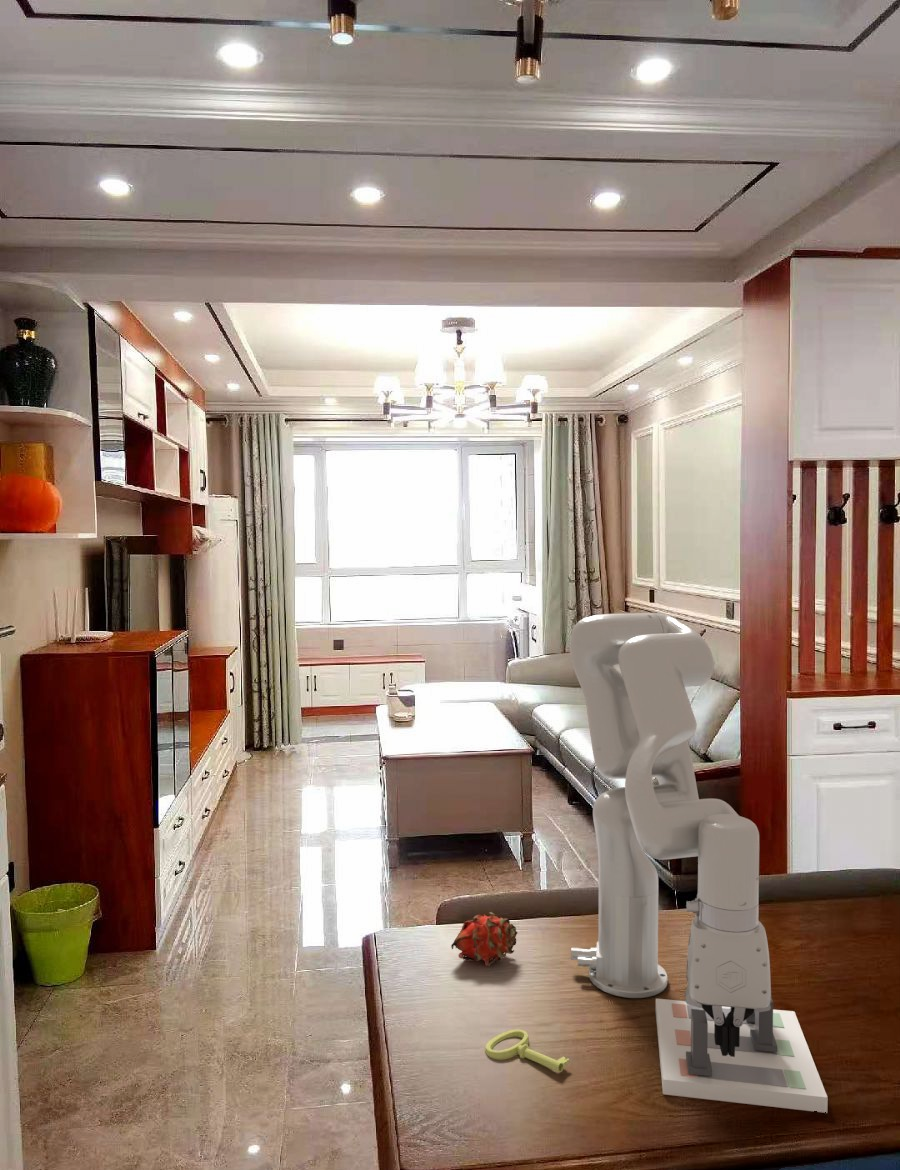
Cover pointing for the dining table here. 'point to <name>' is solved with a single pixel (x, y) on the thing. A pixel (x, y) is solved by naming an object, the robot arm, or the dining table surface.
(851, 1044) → the dining table surface
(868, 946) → the dining table surface
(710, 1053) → the switch board
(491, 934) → the dragon fruit
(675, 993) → the dining table surface
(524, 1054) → the key
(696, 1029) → the switch
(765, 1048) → the middle switch
